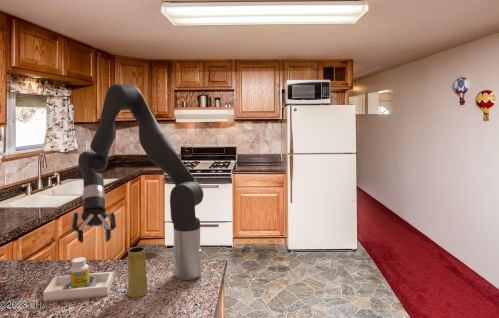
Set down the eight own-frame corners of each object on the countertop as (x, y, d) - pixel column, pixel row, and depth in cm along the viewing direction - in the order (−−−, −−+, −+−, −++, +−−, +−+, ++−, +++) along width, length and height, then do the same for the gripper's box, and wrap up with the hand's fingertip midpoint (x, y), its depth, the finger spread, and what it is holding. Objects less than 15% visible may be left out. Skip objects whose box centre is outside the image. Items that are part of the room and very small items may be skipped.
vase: (151, 290, 111) (150, 247, 109) (139, 299, 105) (138, 254, 103) (135, 287, 113) (134, 245, 111) (123, 295, 107) (121, 251, 105)
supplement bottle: (88, 282, 114) (87, 255, 113) (90, 289, 109) (89, 260, 108) (70, 287, 111) (68, 258, 110) (72, 294, 107) (70, 264, 105)
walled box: (113, 280, 117) (113, 271, 117) (107, 295, 107) (107, 286, 106) (55, 285, 113) (55, 276, 113) (43, 302, 103) (43, 292, 102)
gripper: (74, 194, 122) (74, 238, 114) (116, 195, 130) (118, 237, 122) (71, 203, 127) (70, 246, 119) (111, 203, 135) (113, 244, 128)
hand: (94, 241), depth 121 cm, fingers open, 8 cm apart
